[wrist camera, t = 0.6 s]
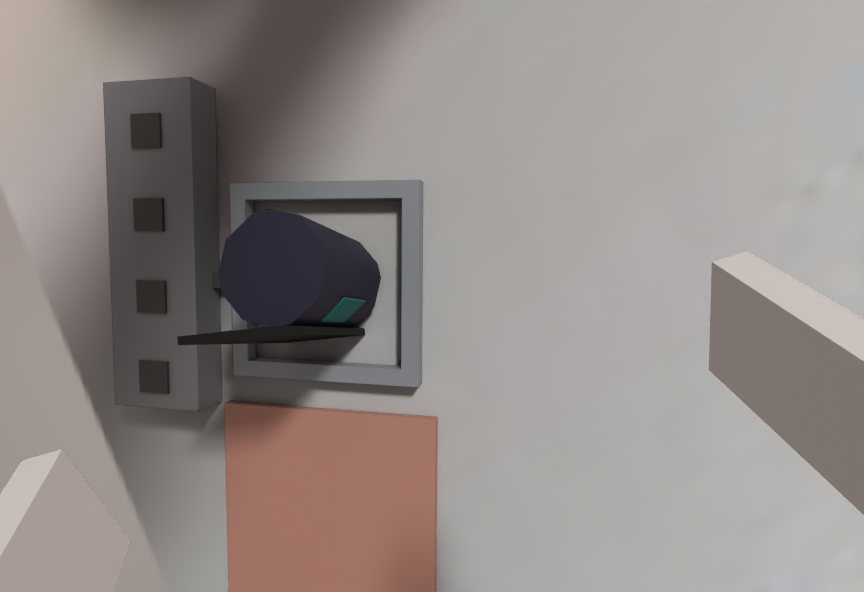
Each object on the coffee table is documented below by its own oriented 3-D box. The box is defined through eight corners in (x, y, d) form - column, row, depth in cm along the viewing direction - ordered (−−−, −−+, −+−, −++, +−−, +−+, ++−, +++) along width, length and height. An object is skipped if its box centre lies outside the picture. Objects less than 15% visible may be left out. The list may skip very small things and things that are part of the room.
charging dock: (133, 93, 37) (100, 81, 34) (423, 76, 33) (412, 61, 30) (143, 394, 39) (113, 405, 36) (421, 415, 34) (409, 429, 32)
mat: (229, 401, 37) (224, 403, 37) (437, 417, 34) (435, 419, 34) (233, 604, 38) (229, 608, 38) (435, 636, 35) (433, 642, 35)
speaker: (367, 366, 35) (282, 388, 25) (285, 341, 36) (173, 352, 26) (397, 246, 34) (324, 218, 24) (313, 225, 36) (211, 191, 26)
